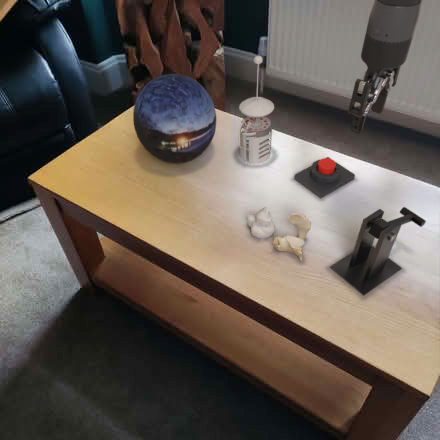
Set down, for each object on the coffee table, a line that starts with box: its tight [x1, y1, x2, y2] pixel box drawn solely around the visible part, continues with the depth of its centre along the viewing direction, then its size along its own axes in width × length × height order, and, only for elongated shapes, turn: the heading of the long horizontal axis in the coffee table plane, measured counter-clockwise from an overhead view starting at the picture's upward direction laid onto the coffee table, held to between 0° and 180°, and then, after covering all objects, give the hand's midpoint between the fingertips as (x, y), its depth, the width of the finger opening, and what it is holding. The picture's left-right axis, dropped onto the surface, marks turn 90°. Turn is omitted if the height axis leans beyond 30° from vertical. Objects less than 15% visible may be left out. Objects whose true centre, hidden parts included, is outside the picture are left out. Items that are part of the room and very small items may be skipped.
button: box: [317, 157, 336, 175], centre depth 100 cm, size 4×4×2 cm
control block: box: [293, 156, 356, 200], centre depth 102 cm, size 11×9×4 cm
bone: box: [272, 212, 312, 262], centre depth 88 cm, size 9×6×10 cm
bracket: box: [329, 208, 403, 297], centre depth 81 cm, size 11×9×14 cm
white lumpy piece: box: [246, 206, 276, 239], centre depth 91 cm, size 5×7×8 cm
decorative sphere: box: [132, 73, 217, 164], centre depth 104 cm, size 20×20×20 cm
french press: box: [237, 55, 275, 165], centre depth 100 cm, size 10×12×25 cm
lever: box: [368, 206, 427, 240], centre depth 80 cm, size 13×5×2 cm, turn 126°
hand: (366, 121), depth 83 cm, fingers open, 8 cm apart
